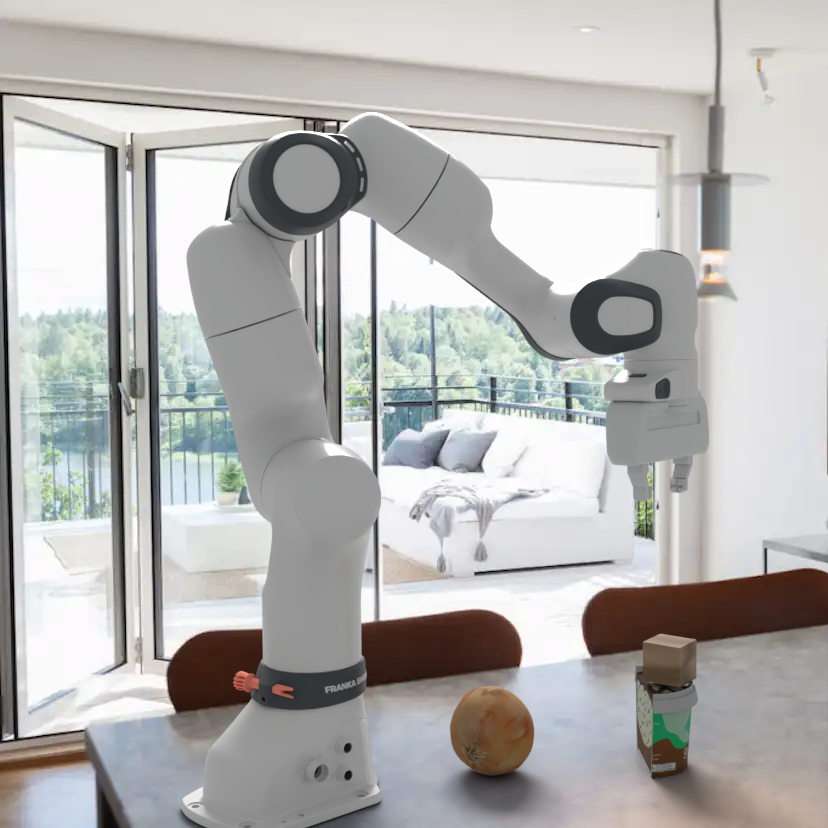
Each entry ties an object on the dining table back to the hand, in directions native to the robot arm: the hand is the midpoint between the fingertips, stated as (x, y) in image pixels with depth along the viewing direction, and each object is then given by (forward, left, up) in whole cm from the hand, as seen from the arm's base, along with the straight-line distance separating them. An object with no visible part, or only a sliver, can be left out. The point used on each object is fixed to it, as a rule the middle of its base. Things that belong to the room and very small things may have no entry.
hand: (661, 496), depth 135 cm
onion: (-21, +11, -31) cm, 39 cm away
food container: (-6, -4, -31) cm, 32 cm away
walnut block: (-6, -4, -21) cm, 22 cm away
